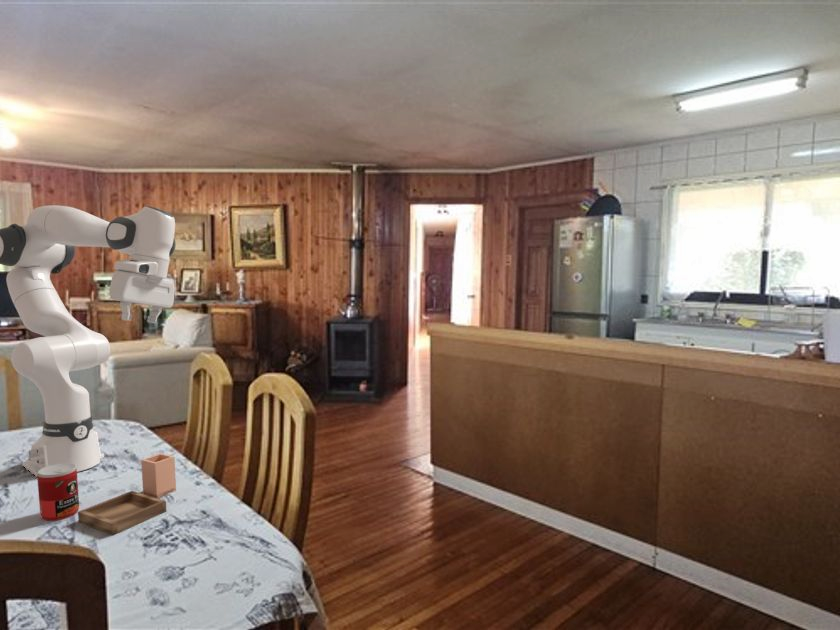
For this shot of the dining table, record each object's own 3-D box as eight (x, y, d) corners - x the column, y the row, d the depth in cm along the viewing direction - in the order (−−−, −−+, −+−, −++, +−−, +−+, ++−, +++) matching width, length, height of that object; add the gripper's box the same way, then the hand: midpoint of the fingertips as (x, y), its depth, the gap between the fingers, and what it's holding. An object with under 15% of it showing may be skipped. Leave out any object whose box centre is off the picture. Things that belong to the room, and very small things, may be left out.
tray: (78, 522, 123) (77, 511, 123) (132, 500, 134) (131, 490, 134) (113, 535, 117) (112, 524, 117) (166, 511, 128) (165, 501, 128)
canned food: (60, 522, 123) (57, 476, 122) (31, 519, 125) (28, 473, 124) (87, 508, 130) (84, 464, 129) (59, 505, 132) (56, 461, 131)
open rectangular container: (143, 494, 138) (141, 459, 137) (162, 486, 143) (160, 453, 142) (157, 498, 136) (155, 463, 135) (176, 490, 140) (174, 456, 140)
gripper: (164, 274, 151) (155, 322, 150) (109, 260, 131) (99, 316, 130) (184, 277, 150) (175, 326, 149) (132, 264, 130) (121, 320, 129)
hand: (139, 321), depth 139 cm, fingers open, 8 cm apart
